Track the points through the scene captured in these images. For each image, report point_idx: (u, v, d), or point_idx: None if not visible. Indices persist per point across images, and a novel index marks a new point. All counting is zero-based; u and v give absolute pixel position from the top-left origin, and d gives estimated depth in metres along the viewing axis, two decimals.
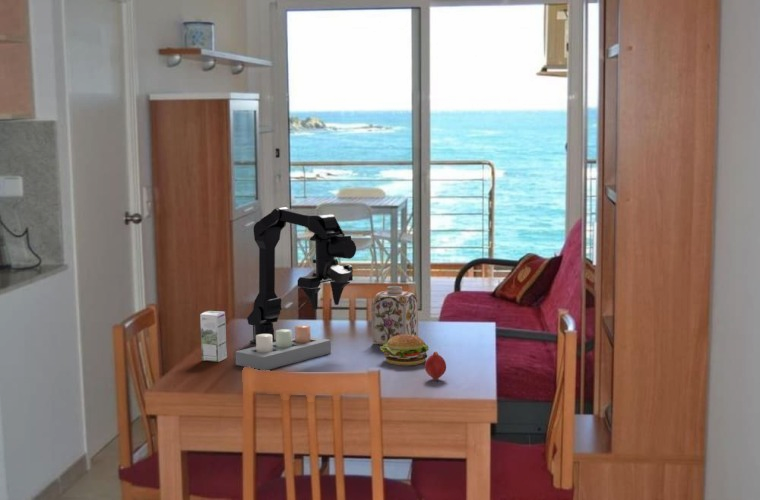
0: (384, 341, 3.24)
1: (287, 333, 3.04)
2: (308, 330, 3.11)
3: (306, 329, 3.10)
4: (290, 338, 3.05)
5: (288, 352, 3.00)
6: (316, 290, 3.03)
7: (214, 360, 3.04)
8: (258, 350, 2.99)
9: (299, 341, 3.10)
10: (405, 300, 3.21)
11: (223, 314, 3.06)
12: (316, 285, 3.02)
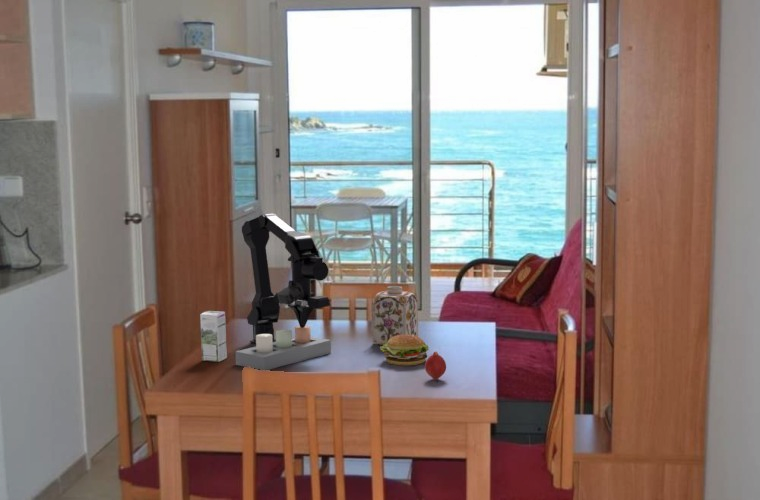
0: (384, 341, 3.24)
1: (287, 333, 3.04)
2: (308, 331, 3.11)
3: (306, 330, 3.10)
4: (290, 338, 3.05)
5: (288, 352, 3.00)
6: (291, 307, 3.11)
7: (214, 360, 3.04)
8: (258, 350, 2.99)
9: (299, 341, 3.11)
10: (405, 300, 3.21)
11: (223, 314, 3.06)
12: (278, 300, 3.13)
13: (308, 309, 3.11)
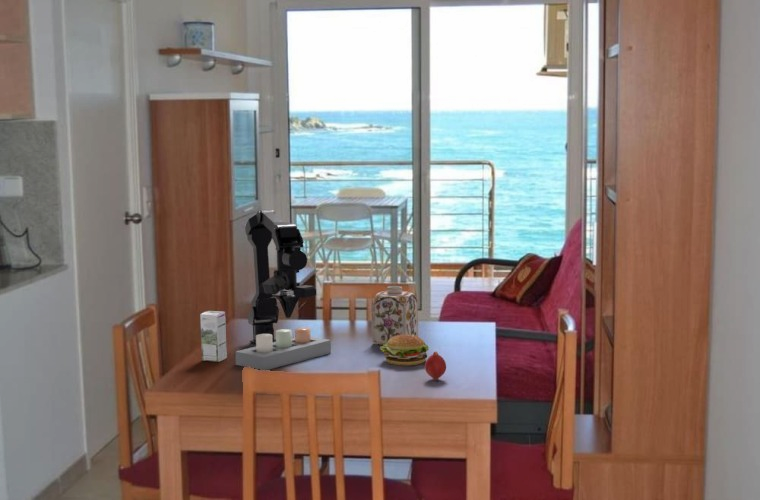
0: (384, 341, 3.24)
1: (287, 333, 3.04)
2: (308, 333, 3.11)
3: (306, 332, 3.10)
4: (290, 338, 3.05)
5: (288, 352, 3.00)
6: (276, 297, 3.05)
7: (214, 360, 3.04)
8: (258, 350, 2.99)
9: None
10: (405, 300, 3.21)
11: (223, 314, 3.06)
12: (263, 291, 3.08)
13: (294, 299, 3.06)
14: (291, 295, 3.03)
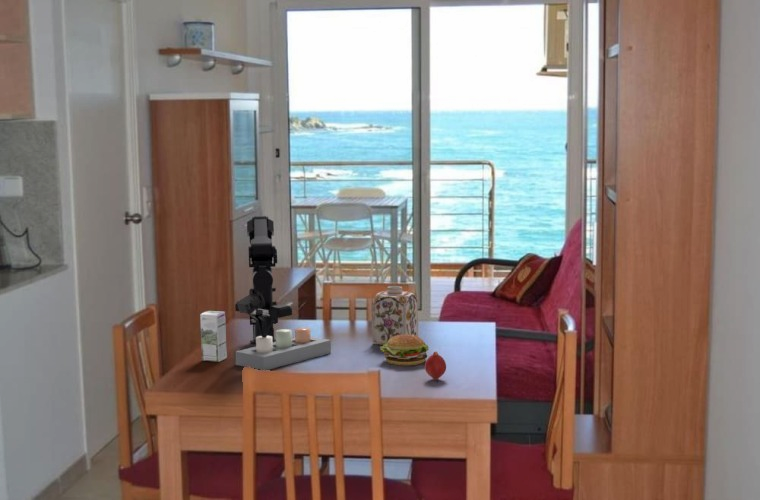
0: (384, 341, 3.24)
1: (287, 333, 3.04)
2: (308, 333, 3.11)
3: (306, 332, 3.10)
4: (290, 338, 3.05)
5: (288, 352, 3.00)
6: (252, 316, 2.99)
7: (214, 360, 3.04)
8: (258, 352, 2.99)
9: None
10: (405, 300, 3.21)
11: (223, 314, 3.06)
12: (239, 309, 3.01)
13: (270, 318, 2.99)
14: (266, 314, 2.96)
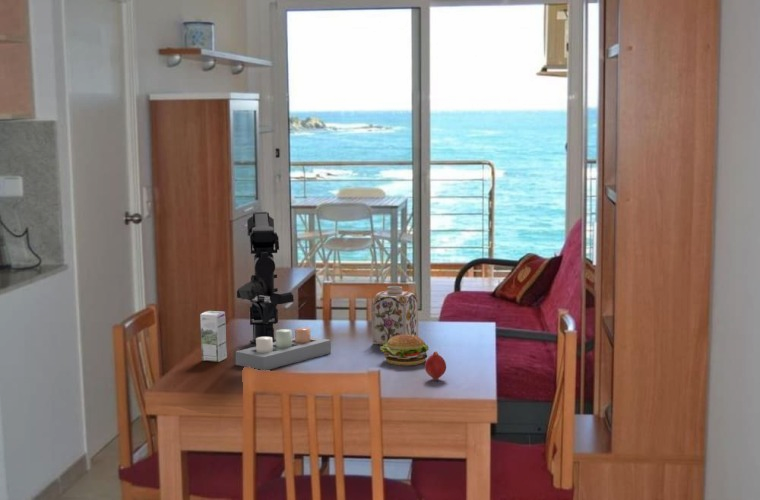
0: (384, 341, 3.24)
1: (287, 333, 3.04)
2: (308, 333, 3.11)
3: (306, 332, 3.10)
4: (290, 338, 3.05)
5: (288, 352, 3.00)
6: (254, 303, 2.99)
7: (214, 360, 3.04)
8: None
9: None
10: (405, 300, 3.21)
11: (223, 314, 3.06)
12: (240, 296, 3.02)
13: (271, 305, 2.99)
14: (268, 301, 2.96)
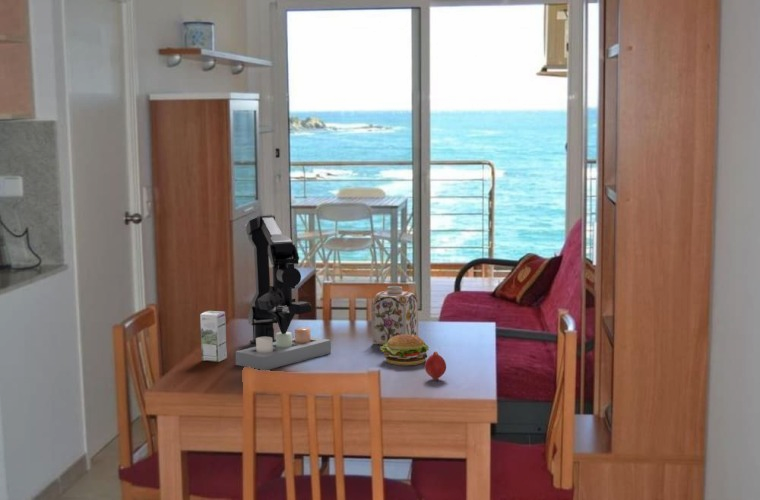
0: (384, 341, 3.24)
1: (287, 336, 3.04)
2: (308, 333, 3.11)
3: (306, 332, 3.10)
4: (290, 341, 3.05)
5: (288, 352, 3.00)
6: (272, 313, 3.05)
7: (214, 360, 3.04)
8: None
9: None
10: (405, 300, 3.21)
11: (223, 314, 3.06)
12: (259, 306, 3.08)
13: (289, 315, 3.05)
14: (286, 311, 3.02)
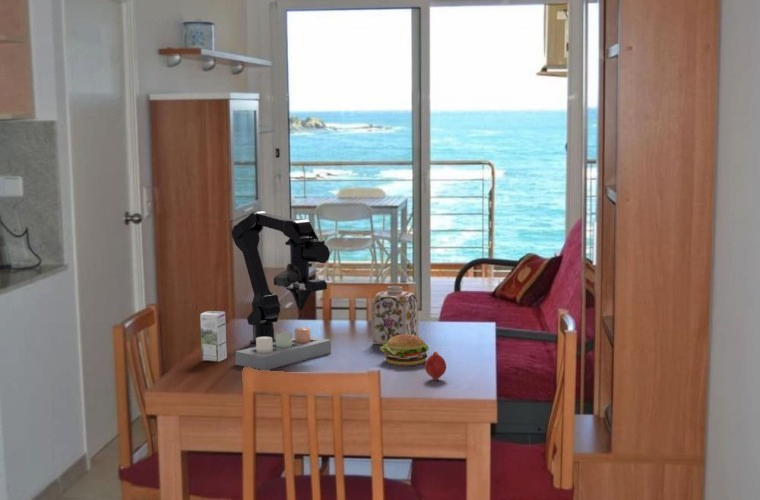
0: (384, 341, 3.24)
1: (287, 336, 3.04)
2: (308, 333, 3.11)
3: (306, 332, 3.10)
4: (290, 341, 3.05)
5: (288, 352, 3.00)
6: (289, 290, 3.16)
7: (214, 360, 3.04)
8: None
9: None
10: (405, 300, 3.21)
11: (223, 314, 3.06)
12: (277, 283, 3.19)
13: (306, 292, 3.16)
14: (303, 288, 3.13)
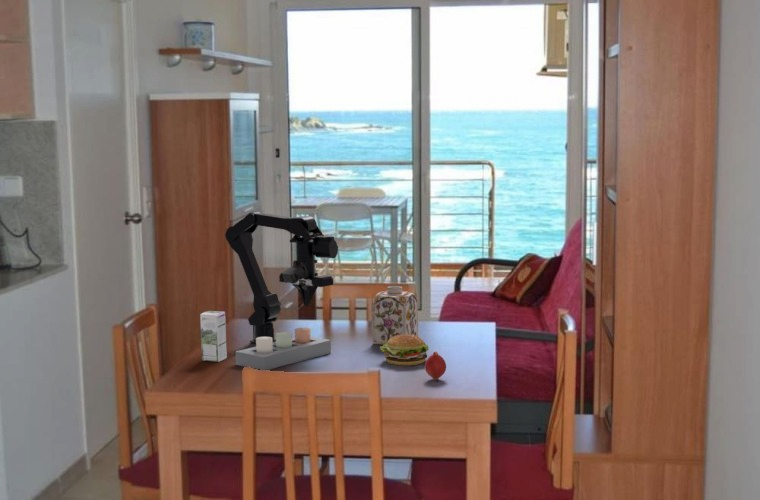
0: (384, 341, 3.24)
1: (287, 336, 3.04)
2: (308, 333, 3.11)
3: (306, 332, 3.10)
4: (290, 341, 3.05)
5: (288, 352, 3.00)
6: (295, 286, 3.20)
7: (214, 360, 3.04)
8: None
9: None
10: (405, 300, 3.21)
11: (223, 314, 3.06)
12: (283, 280, 3.23)
13: (312, 288, 3.21)
14: (309, 284, 3.17)
